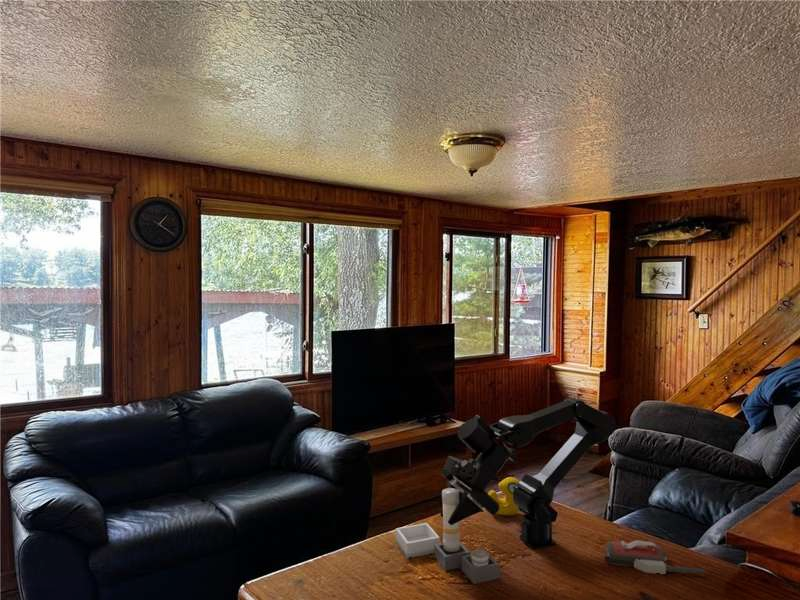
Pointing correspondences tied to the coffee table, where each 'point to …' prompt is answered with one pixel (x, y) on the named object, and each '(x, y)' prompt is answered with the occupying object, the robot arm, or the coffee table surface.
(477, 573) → the grey boxy piece
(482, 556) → the white dome piece
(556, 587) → the coffee table surface
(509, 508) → the duckling
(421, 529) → the tray
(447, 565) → the grey square frame
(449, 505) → the white bulb-shaped piece
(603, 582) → the coffee table surface
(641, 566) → the toy chainsaw
